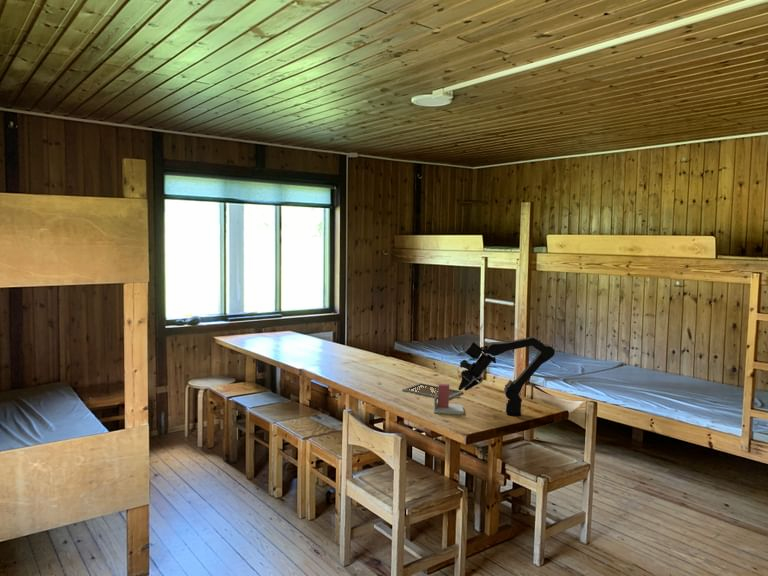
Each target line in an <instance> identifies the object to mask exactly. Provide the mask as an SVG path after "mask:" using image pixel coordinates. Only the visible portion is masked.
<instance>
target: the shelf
mask: <svg viewBox="0 0 768 576" xmlns="http://www.w3.org/2000/svg"><path fill="white" fill-rule="evenodd" d="M433 399H434V402H433V413H434V414H445V415H446V414H447V415H460V414H464V415H465V411H464V408H463V407H464V406H463V404H457V403H449V404H448V408H438V399H437V391H435V398H433Z"/></svg>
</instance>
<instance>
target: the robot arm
mask: <svg viewBox="0 0 768 576" xmlns="http://www.w3.org/2000/svg"><path fill="white" fill-rule="evenodd" d="M527 347H533V348H535V349H536V350H537V352H536V355H535V357H534V358H533V359H532V361H531V362H530V363H529V364H528V365H527V366H526V367H525V368H524V370H523V371H521V372H520V374H519V376H517V378H516V379H514V380H513V381H512V380H511V379H509V380H508V382H507V383H506V384H505V385H504V389H503V392H504V393H503V394H504V395H505V397H506V398H507V402H506V403H505V413H506V414H507V416H515V417H516V416H517V417H521V416H522V402H523V399H522V397H521V396H520V392H521V390H522V388H523V386H524V385H525V384H526V383H527V382H528V381H529V379H531V377H532V376H533V375H534V374H535V373H536V371H538V369H539V368H540V367H541V366H542V365H543V364H544V363H546V362H548V361H549V360H550V359H552V358H553V357H554V356H555V352H556V351H555V349H554V347H553V346H552V345H550V344H548V343H543V342H541V341H540V340H539V339H537V338H535V337H534V336H529V337H524V338H519V339H514V340H509V341H491V342H489V343H488V345H484V346H480V345H478V343H476V342H475V341H471V343H470V344H469V345H467V347H466V348H465V350H464V354H466V355H468V356H469V357H470V358H472V359H473V360H475V359H476V361H475V362H472V363H470V362H469V361H468V360H465V359H463V360H461V361H460V362H459V364H460V365H459V368H461V369H462V368H463V370H462V371H461V372H460V376H461V381H460V383H459V385H458V390H459V391H463V390H464V391H465V392H466V391H468V390H470V389H472V388H474V387H476V386H478V385H479V384H482V383H483V381H484V376H483V374H484V373H486V372H487V368H488V367H489V365H491V363H493V364H497V361H496V360H497V358H496V356H500V355H502V354H504V353H505V352H508V351H512V350H518V349H523V348H527Z"/></svg>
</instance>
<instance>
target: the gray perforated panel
mask: <svg viewBox="0 0 768 576" xmlns="http://www.w3.org/2000/svg"><path fill="white" fill-rule="evenodd" d="M420 385H423V386H424V388H423V387H422V388H421V387H420V390H419V387H418V386H420ZM425 386H427V387H426V388H425ZM415 387H416V390H417V387H418V390H417V392H415V389H414V391H411V389H413V388H415ZM430 387H433V388H434V391H435V390H436V391H438V389H439V385H433V384H428V383H422V382H418V383H417V384H416V383H415V384H413V385H411V386H407V387H405V388H402V390H401V391H402V392H404V391H405V393H408V392H410V393H409V394H413V393H415V394H414V395H418V394H419V396H422V395H423V396H422V397H428V398H431V397H433V398H432V399H435V393H434V392H433V393H432V392H431V390H430ZM435 388H436V389H435ZM409 389H410V390H409ZM418 391H419V392H418ZM431 394H432V395H431ZM458 395H459V396H458ZM461 395H464V391H463V390H457V389H452V388H449V400H452V399H460V398H461ZM437 400H438V392H437Z"/></svg>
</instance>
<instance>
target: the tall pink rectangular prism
mask: <svg viewBox="0 0 768 576" xmlns="http://www.w3.org/2000/svg"><path fill="white" fill-rule="evenodd" d="M438 386H439V389H438V399H437V403H438V408H448V404H450V403H449V400H450V399H449V389H450V383H438Z"/></svg>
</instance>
